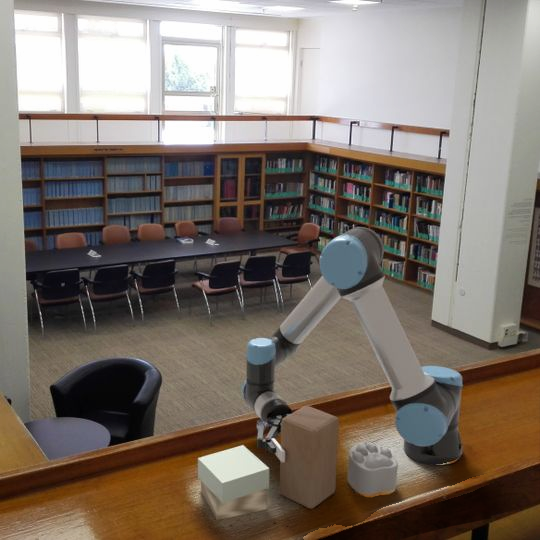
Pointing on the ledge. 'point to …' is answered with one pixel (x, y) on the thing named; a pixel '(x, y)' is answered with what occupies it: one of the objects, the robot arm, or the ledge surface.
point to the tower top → (233, 473)
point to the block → (309, 456)
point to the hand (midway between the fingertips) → (309, 451)
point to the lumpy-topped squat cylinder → (371, 469)
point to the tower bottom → (235, 503)
